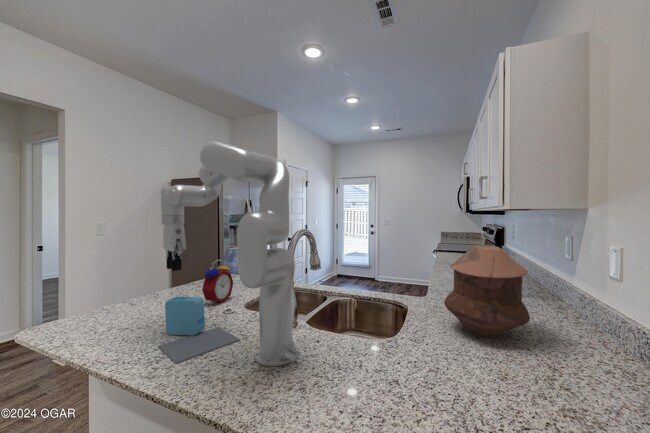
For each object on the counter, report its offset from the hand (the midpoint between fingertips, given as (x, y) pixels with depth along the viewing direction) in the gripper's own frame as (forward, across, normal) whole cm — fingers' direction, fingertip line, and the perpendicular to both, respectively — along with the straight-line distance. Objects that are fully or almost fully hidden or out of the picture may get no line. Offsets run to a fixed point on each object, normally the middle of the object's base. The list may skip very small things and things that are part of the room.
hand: (174, 268), depth 108 cm
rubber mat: (+21, -22, 0) cm, 30 cm away
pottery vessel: (+22, -86, -71) cm, 114 cm away
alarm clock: (+22, +16, -24) cm, 36 cm away
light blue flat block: (+21, -10, 0) cm, 24 cm away
